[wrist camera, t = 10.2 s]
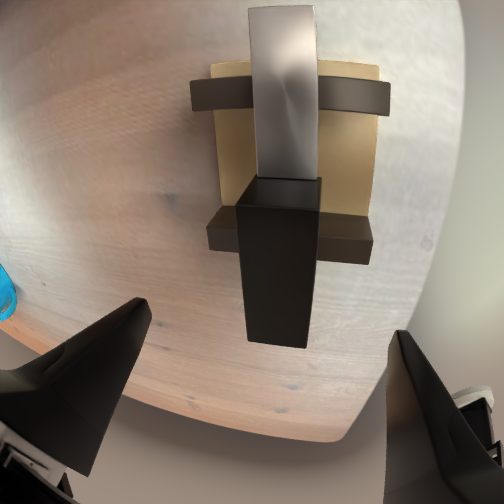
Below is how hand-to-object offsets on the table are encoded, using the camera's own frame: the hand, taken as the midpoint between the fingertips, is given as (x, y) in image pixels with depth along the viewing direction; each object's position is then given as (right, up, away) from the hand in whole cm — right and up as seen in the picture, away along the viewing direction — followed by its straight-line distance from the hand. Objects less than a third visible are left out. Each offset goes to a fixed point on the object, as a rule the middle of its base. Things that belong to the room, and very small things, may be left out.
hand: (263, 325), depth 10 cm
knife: (+1, +6, +2) cm, 6 cm away
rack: (+2, +8, +5) cm, 9 cm away
